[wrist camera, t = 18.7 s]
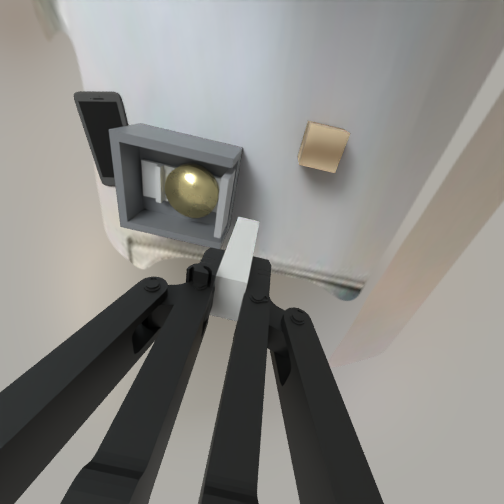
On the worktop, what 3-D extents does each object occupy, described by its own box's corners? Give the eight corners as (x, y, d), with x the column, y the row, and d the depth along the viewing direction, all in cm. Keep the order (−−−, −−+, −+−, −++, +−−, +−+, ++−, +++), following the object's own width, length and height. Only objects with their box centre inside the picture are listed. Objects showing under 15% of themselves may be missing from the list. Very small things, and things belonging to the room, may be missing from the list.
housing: (140, 123, 37) (108, 129, 30) (242, 147, 37) (233, 158, 30) (145, 207, 44) (120, 226, 38) (229, 226, 45) (220, 249, 38)
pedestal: (308, 120, 34) (311, 124, 30) (342, 128, 34) (350, 133, 30) (297, 156, 37) (299, 164, 33) (329, 164, 37) (334, 173, 33)
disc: (222, 170, 35) (220, 173, 34) (216, 218, 40) (214, 223, 38) (169, 157, 35) (164, 160, 34) (168, 207, 39) (164, 211, 38)
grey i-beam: (143, 147, 35) (122, 154, 31) (235, 169, 36) (228, 179, 31) (145, 203, 40) (128, 217, 36) (227, 222, 40) (220, 238, 36)
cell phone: (104, 184, 43) (102, 185, 43) (74, 91, 36) (70, 91, 35) (144, 186, 43) (142, 187, 42) (121, 91, 35) (118, 91, 34)
